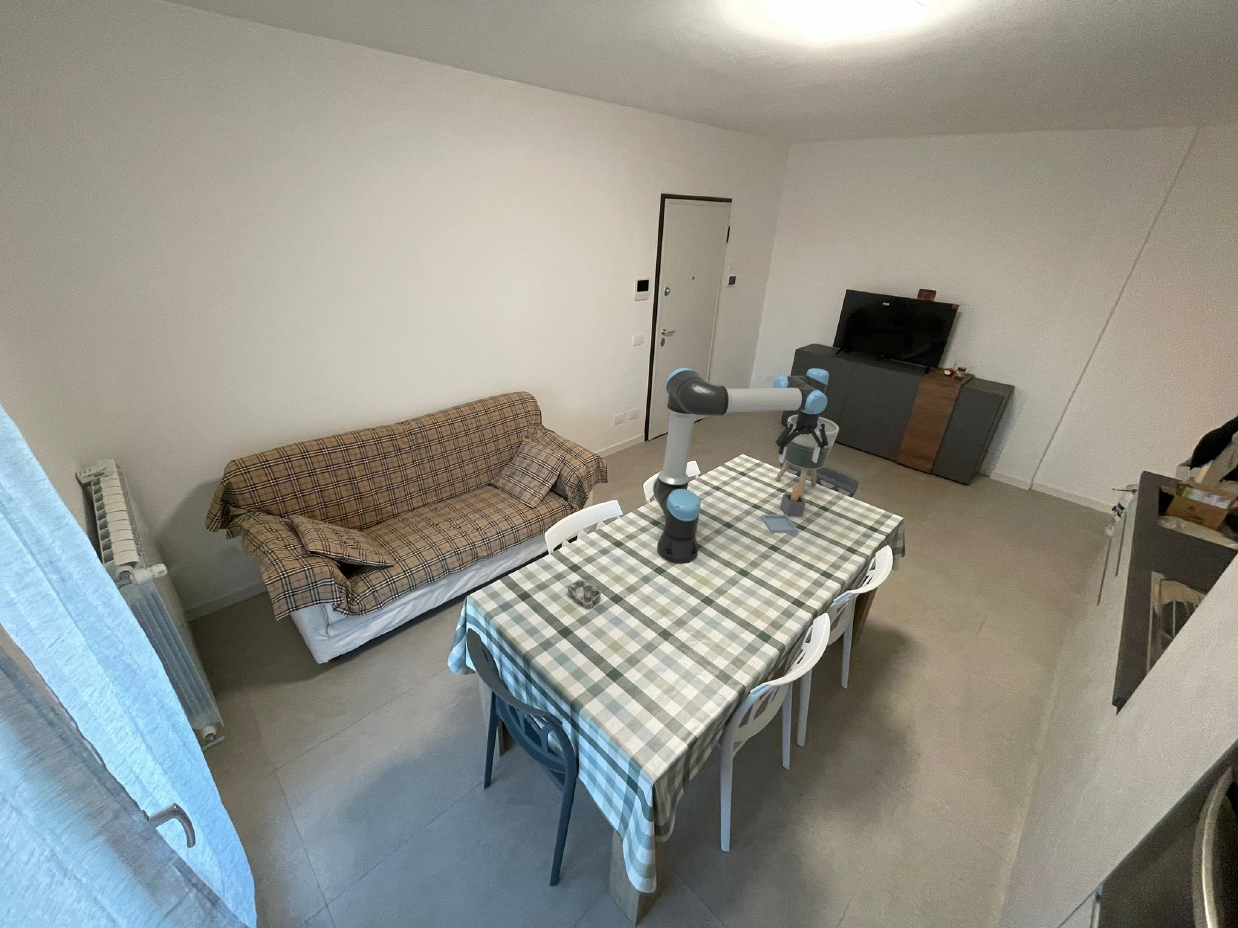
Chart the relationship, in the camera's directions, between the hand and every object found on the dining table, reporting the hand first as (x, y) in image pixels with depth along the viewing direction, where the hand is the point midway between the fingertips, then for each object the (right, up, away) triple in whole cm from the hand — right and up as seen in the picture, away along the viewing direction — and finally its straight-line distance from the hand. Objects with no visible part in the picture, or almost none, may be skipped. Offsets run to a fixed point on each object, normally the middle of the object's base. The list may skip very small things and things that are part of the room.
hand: (797, 461), depth 193 cm
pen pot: (+4, -22, +19) cm, 30 cm away
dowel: (+4, -22, +19) cm, 29 cm away
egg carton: (-81, -44, -34) cm, 99 cm away
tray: (-4, -27, +10) cm, 29 cm away
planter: (+14, -12, +40) cm, 44 cm away
